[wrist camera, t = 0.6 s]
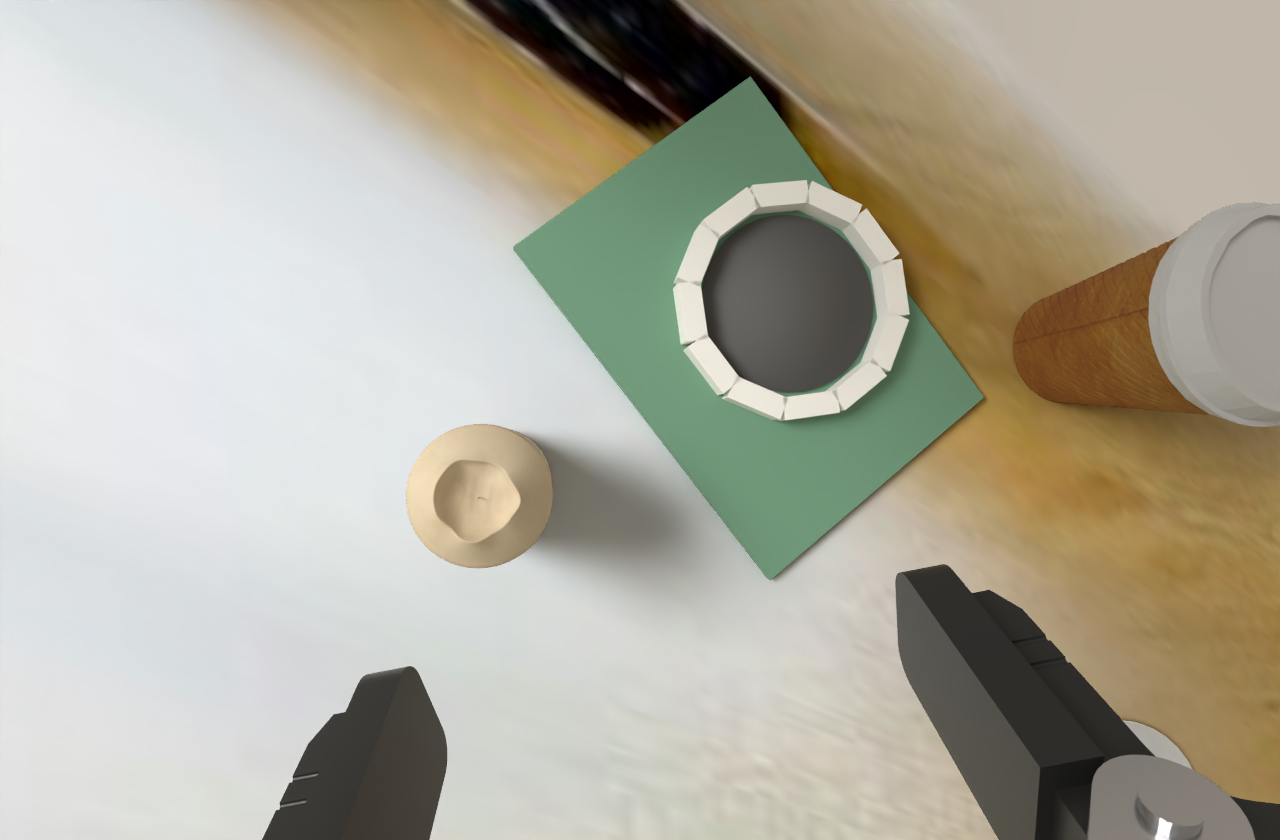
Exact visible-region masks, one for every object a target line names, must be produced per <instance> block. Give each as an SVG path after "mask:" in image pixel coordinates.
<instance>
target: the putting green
mask: <svg viewBox="0 0 1280 840" xmlns="http://www.w3.org/2000/svg"><path fill="white" fill-rule="evenodd" d="M861 207H862V204H860V203H858V202H856V201H854V200H851V199H849V198H847V197H845V196H843V195H841V194H839V193H837V192H835V191H833V189H832V188H831V187H830V185H829V184H828V182H827V181H826V180H825V178H824V177H823V176H822V174H821V173H820V171H819V170H818V169H817V167H816V166H815V165H814V163H813V162H812V160H811V159H810V158H809V156H808V155H807V154H806V152H805V151H804V149H803V148H802V147H801V145H800V144H799V143H798V141H797V140H796V138H795V137H794V136H793V134H792V133H791V132H790V130H789V129H788V127H787V126H786V125H785V123H784V122H783V121H782V119H781V118H780V117H779V115H778V114H777V112H776V111H775V110H774V108H773V107H772V106H771V104H770V103H769V101H768V100H767V99H766V97H765V96H764V95H763V93H762V92H761V90H760V89H759V88H758V86H757V85H756V84H755V82H754V81H753V79H752V78H751V77H749V78H748V79H746V80H745V81H743V82H742V83H741V84H739V85H738V86H736V87H735V88H734V89H732V90H731V91H729V92H728V93H727V94H725V95H724V96H722V97H721V98H720V99H718V100H717V101H716V102H714V103H713V104H711V105H710V106H709V107H707V108H706V109H704V110H703V111H702V112H700V113H699V114H697V115H696V116H695V117H693V118H692V119H690V120H689V121H688V122H686V123H685V124H684V125H682V126H681V127H679V128H678V129H677V130H675V131H674V132H672V133H671V134H670V135H668V136H667V137H665V138H664V139H663V140H661V141H660V142H658V143H657V144H656V145H654V146H653V147H651V148H650V149H649V150H647V151H646V152H645V153H643V154H642V155H640V156H639V157H638V158H636V159H635V160H633V161H632V162H631V163H629V164H628V165H626V166H625V167H624V168H622V169H621V170H619V171H618V172H617V173H615V174H614V175H612V176H611V177H610V178H608V179H607V180H606V181H604V182H603V183H601V184H600V185H599V186H597V187H596V188H594V189H593V190H592V191H590V192H589V193H587V194H586V195H585V196H583V197H582V198H580V199H579V200H578V201H576V202H575V203H574V204H572V205H571V206H569V207H568V208H567V209H565V210H564V211H562V212H561V213H560V214H558V215H557V216H555V217H554V218H553V219H551V220H550V221H548V222H547V223H546V224H544V225H543V226H541V227H540V228H539V229H537V230H536V231H535V232H533V233H532V234H530V235H529V236H528V237H526V238H525V239H523V240H522V241H521V242H519V243H518V244H516V245H515V246H514V247H513V249H514V251H515V252H516V253H517V255H518V256H519V257H520V258H521V260H522V261H523V262H524V264H525V265H526V266H527V268H528V269H529V270H530V271H531V273H532V274H533V275H534V277H535V278H536V279H537V281H538V282H539V283H540V284H541V286H542V287H543V288H544V290H545V291H546V292H547V293H548V295H549V296H550V297H551V299H552V300H553V301H554V303H555V304H556V305H557V306H558V308H559V309H560V310H561V312H562V313H563V314H564V315H565V317H566V318H567V319H568V321H569V322H570V323H571V325H572V326H573V327H574V328H575V330H576V331H577V332H578V334H579V335H580V336H581V338H582V339H583V340H584V341H585V343H586V344H587V345H588V347H589V348H590V349H591V350H592V352H593V353H594V354H595V356H596V357H597V358H598V360H599V361H600V362H601V363H602V365H603V366H604V367H605V369H606V370H607V371H608V373H609V374H610V375H611V376H612V378H613V379H614V380H615V382H616V383H617V384H618V385H619V387H620V388H621V389H622V391H623V392H624V393H625V395H626V396H627V397H628V398H629V400H630V401H631V402H632V404H633V405H634V406H635V407H636V409H637V410H638V411H639V413H640V414H641V415H642V417H643V418H644V419H645V420H646V422H647V423H648V424H649V426H650V427H651V428H652V430H653V431H654V432H655V433H656V435H657V436H658V437H659V439H660V440H661V441H662V442H663V444H664V445H665V446H666V448H667V449H668V450H669V452H670V453H671V454H672V455H673V457H674V458H675V459H676V461H677V462H678V463H679V465H680V466H681V467H682V468H683V470H684V471H685V472H686V474H687V475H688V476H689V477H690V479H691V480H692V481H693V483H694V484H695V485H696V487H697V488H698V489H699V490H700V492H701V493H702V494H703V496H704V497H705V498H706V499H707V501H708V502H709V503H710V505H711V506H712V507H713V509H714V510H715V511H716V512H717V514H718V515H719V516H720V518H721V519H722V520H723V522H724V523H725V524H726V525H727V527H728V528H729V529H730V531H731V532H732V533H733V534H734V536H735V537H736V538H737V540H738V541H739V542H740V544H741V545H742V546H743V547H744V549H745V550H746V551H747V553H748V554H749V555H750V557H751V558H752V559H753V560H754V562H755V563H756V564H757V566H758V567H759V568H760V569H761V571H762V572H763V573H764V575H765V576H766V577H767V578H768V579H769V580H771V579H772V578H773V577H775V576H776V575H777V574H778V573H779V572H780V571H782V570H783V569H784V568H785V567H786V566H787V565H789V564H790V563H791V562H792V561H793V560H794V559H796V558H797V557H798V556H799V555H800V554H801V553H803V552H804V551H805V550H806V549H807V548H808V547H810V546H811V545H812V544H813V543H814V542H816V541H817V540H818V539H819V538H820V537H821V536H823V535H824V534H825V533H826V532H827V531H828V530H830V529H831V528H832V527H833V526H834V525H835V524H837V523H838V522H839V521H840V520H841V519H842V518H844V517H845V516H846V515H847V514H848V513H849V512H851V511H852V510H853V509H854V508H855V507H856V506H858V505H859V504H860V503H861V502H862V501H863V500H865V499H866V498H867V497H868V496H869V495H871V494H872V493H873V492H874V491H875V490H876V489H878V488H879V487H880V486H881V485H882V484H883V483H885V482H886V481H887V480H888V479H889V478H890V477H892V476H893V475H894V474H895V473H896V472H897V471H899V470H900V469H901V468H902V467H903V466H904V465H906V464H907V463H908V462H909V461H910V460H911V459H913V458H914V457H915V456H916V455H917V454H918V453H920V452H921V451H922V450H923V449H924V448H925V447H927V446H928V445H929V444H930V443H931V442H933V441H934V440H935V439H936V438H937V437H938V436H940V435H941V434H942V433H943V432H944V431H945V430H947V429H948V428H949V427H950V426H951V425H952V424H954V423H955V422H956V421H957V420H958V419H959V418H961V417H962V416H963V415H964V414H965V413H966V412H968V411H969V410H970V409H971V408H972V407H973V406H975V405H976V404H977V403H978V402H979V401H980V400H982V399H983V398H984V396H983V395H982V394H981V392H980V391H979V390H978V388H977V387H976V385H975V384H974V383H973V381H972V380H971V379H970V377H969V376H968V374H967V373H966V372H965V370H964V369H963V368H962V366H961V365H960V364H959V362H958V361H957V359H956V358H955V357H954V355H953V354H952V353H951V351H950V350H949V348H948V347H947V346H946V344H945V343H944V342H943V340H942V339H941V337H940V336H939V335H938V333H937V332H936V331H935V329H934V328H933V326H932V325H931V324H930V322H929V321H928V320H927V318H926V317H925V315H924V314H923V313H922V311H921V310H920V309H919V307H918V306H917V305H916V303H915V302H914V300H913V299H912V298H911V296H910V295H909V294H908V292H907V291H906V285H905V278H904V271H903V264H902V259H897V260H892V259H893V258H895V257H896V256H897V255H898V254H899V252H898V251H897V249H896V248H895V247H894V245H893V244H892V243H891V241H890V240H889V238H888V237H887V236H886V234H885V233H884V232H883V230H882V229H881V227H880V226H879V225H878V223H877V222H876V221H875V219H874V218H873V216H872V215H871V214H870V212H869V211H868V209H867V208H866V209H865V210H864V211H862V212H861V213H860V214H859V212H860V209H861Z"/></svg>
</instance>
